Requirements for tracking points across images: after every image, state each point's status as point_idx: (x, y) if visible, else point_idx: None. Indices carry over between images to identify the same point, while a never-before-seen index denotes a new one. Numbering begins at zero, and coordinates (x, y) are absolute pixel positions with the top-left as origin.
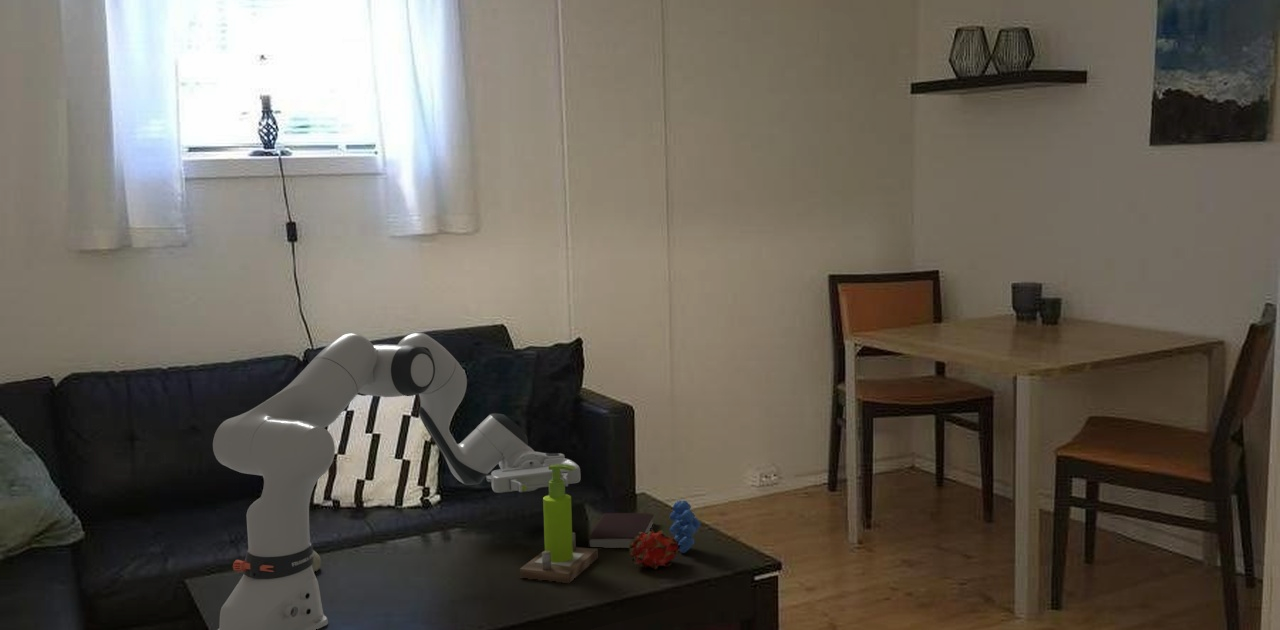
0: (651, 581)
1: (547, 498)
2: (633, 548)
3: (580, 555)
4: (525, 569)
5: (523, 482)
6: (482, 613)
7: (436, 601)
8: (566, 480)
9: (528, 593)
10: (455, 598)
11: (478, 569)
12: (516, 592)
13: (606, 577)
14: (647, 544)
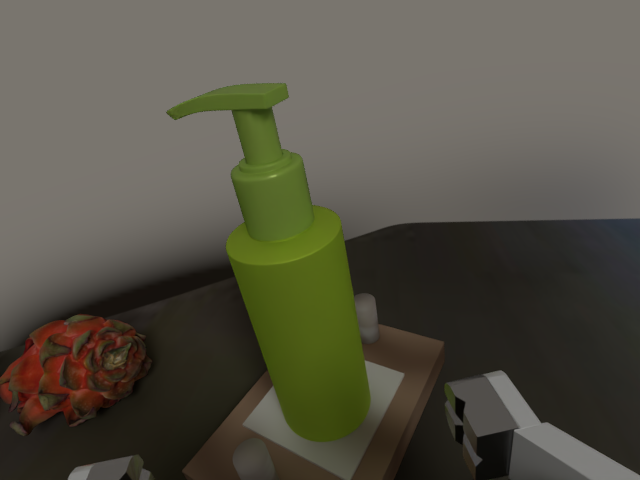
0: (165, 321)
1: (324, 213)
2: (136, 336)
3: (259, 408)
4: (426, 337)
5: (484, 428)
6: (485, 234)
7: (614, 267)
8: (93, 466)
9: (412, 289)
10: (574, 277)
11: (623, 451)
12: (439, 294)
13: (235, 346)
14: (105, 321)
